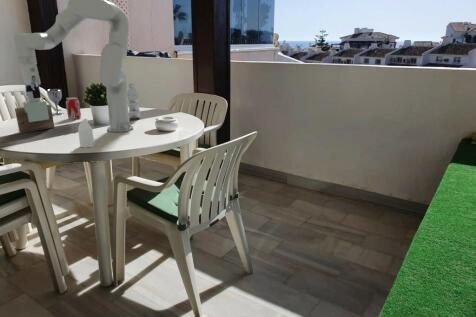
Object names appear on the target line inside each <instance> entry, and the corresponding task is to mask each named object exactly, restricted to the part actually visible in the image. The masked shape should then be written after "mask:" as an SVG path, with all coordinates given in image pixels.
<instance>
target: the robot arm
mask: <svg viewBox="0 0 476 317" xmlns="http://www.w3.org/2000/svg"><path fill="white" fill-rule="evenodd" d="M87 19H90V20H98V21H102V22H106V23H107V22H108V23H109V25H110V28H109V34H108V43H107V44H105V45H104V46H103V48H102V49H101V52H100V61H99V73H98V74H99V76H98V77H99V82H100V83H101V84H102V85H103V86H104V87H105V88H106V99H107V100H106V101H107V109H108V110H107V111H108V117H109V119H108V120H109V126H108V127H107V132H111V133H124V132H128V131H129V132H130V131H132V130H134V126H133V125H132V124H130V117H129V101H128V95H127V92H128V90H127V75H126V72H125V70H124V69H123V68H122V65H123V63H124V62H125V61H126V59H127V57H128V56H127V54H128V53H127V52H128V42H129V30H130V29H129V28H130V27H129V26H130V25H129V24H130V23H129V20H128V16H127V14H126V13H125V11H124V10H123V9H122V8H121V7H119V6H118V5H117V4H115V3H113V2H110V1H107V0H68V2H67V7H65V8H64V9H63V10H61V12H59V13H58V14H57V15H56V16H55V22H54V24H53V25H52V26H51V27H50V28H49V29H47V30H46V31H44V32H33V33H26V32H25V33H24V32H22V33H21V32H20V33H17V32H16V33H15V34H14V35H13V39H14V40H13V41H14V44H15V50H16V56H17V61H18V65H20V67H21V75H22V81H23V83H24V87H25V93H26V96H27V97H28V95H27V92H32V93H33V98H40V99H41V98H42V96H41V89H40V85H41V83H42V82H41V78H40V75H39V70H38V66H37V64H38V63H37V62H38V61H37V57H36V56H37V55H36V51H35V50H38V51H42V50H52V49H53V48H55V47H56V46H58V45H59V44H60V43H62V41H65V40H66V38H67V37H68V35H70V33H71V32H72V31H73V30H75V29H76V28H77V27H78V26H80V25H81V24H82V23H84V22H85V21H86V20H87Z"/></svg>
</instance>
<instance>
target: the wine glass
mask: <svg viewBox="0 0 476 317" xmlns="http://www.w3.org/2000/svg"><path fill="white" fill-rule="evenodd" d="M46 94H47V98H48V99H49V101H50V102H52V104H54V106H55V109H56V110H55V111H56V112H55V113H52V115H53V116H61V115H64V114H65V113H63V112H59V108H58V107H59V106H58V105H59V103H60V101H61V100H62V96H63V95H62V94H63V93H62V89H60V88H53V89H52V88H51V89H50V88H49V89H47V90H46Z"/></svg>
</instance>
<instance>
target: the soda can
mask: <svg viewBox="0 0 476 317" xmlns="http://www.w3.org/2000/svg"><path fill="white" fill-rule="evenodd" d="M65 107H66V112H67V117H68V119H70V120H80V118H81V117H82V113H81V107H80V101H79V99H78V97H76V96H74V97H66V100H65Z"/></svg>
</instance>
